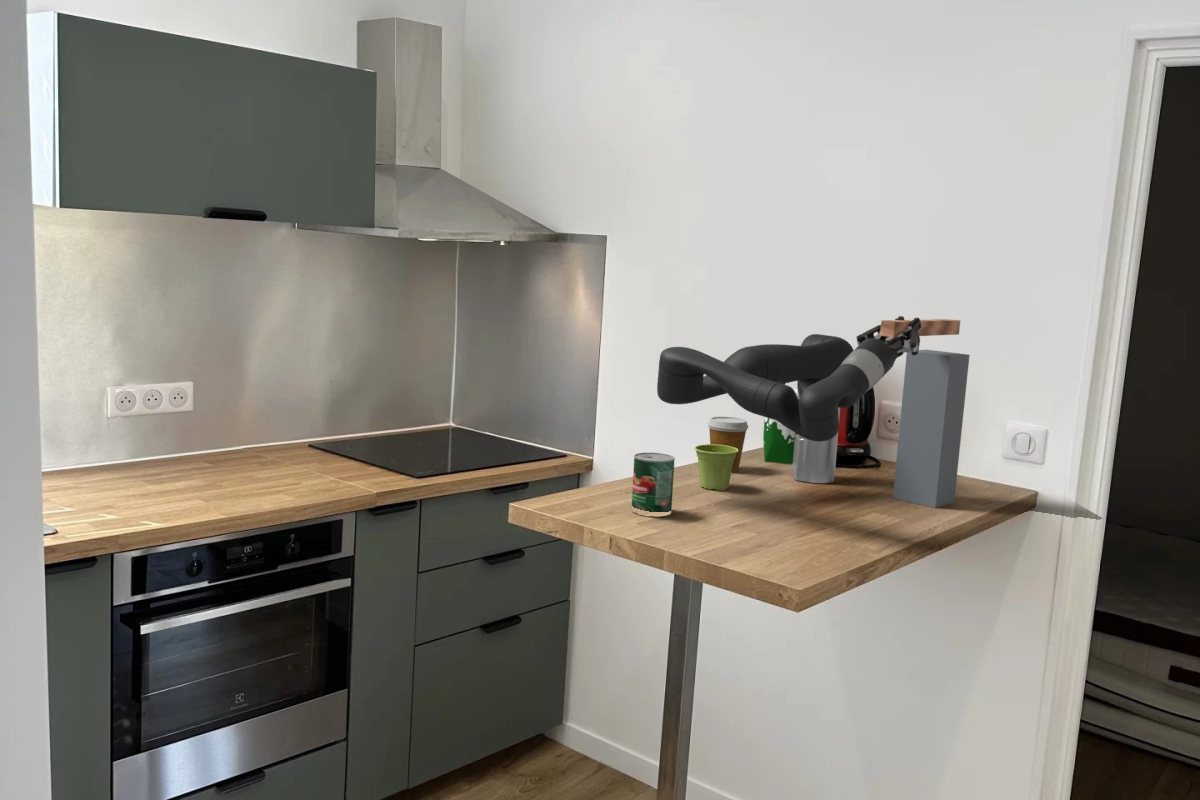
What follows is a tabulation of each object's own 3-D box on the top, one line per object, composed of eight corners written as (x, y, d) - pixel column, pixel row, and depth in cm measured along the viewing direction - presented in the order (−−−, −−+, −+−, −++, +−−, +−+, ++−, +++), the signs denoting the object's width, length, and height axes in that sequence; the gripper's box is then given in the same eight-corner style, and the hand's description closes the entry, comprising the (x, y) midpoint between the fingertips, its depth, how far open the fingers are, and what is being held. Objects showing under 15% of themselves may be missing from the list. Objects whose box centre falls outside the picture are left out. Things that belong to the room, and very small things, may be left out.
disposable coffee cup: (748, 468, 247) (752, 418, 245) (740, 476, 238) (744, 424, 236) (709, 463, 250) (713, 414, 248) (700, 471, 241) (703, 420, 239)
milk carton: (762, 455, 263) (768, 377, 260) (798, 458, 261) (804, 380, 258) (760, 462, 255) (766, 381, 252) (798, 465, 253) (804, 384, 250)
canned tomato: (678, 511, 203) (681, 456, 202) (661, 519, 196) (664, 462, 195) (641, 504, 207) (645, 450, 205) (623, 512, 200) (627, 456, 198)
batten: (893, 337, 202) (894, 321, 202) (879, 335, 204) (881, 320, 204) (958, 334, 220) (960, 320, 219) (945, 333, 222) (947, 319, 221)
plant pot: (713, 494, 218) (716, 454, 217) (683, 485, 226) (685, 446, 224) (744, 489, 224) (747, 450, 223) (713, 480, 231) (716, 442, 230)
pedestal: (935, 508, 216) (950, 356, 212) (892, 497, 224) (906, 350, 219) (954, 502, 222) (969, 354, 217) (912, 493, 229) (926, 349, 224)
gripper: (894, 353, 193) (939, 307, 202) (830, 345, 203) (876, 301, 212) (901, 387, 196) (945, 340, 205) (838, 377, 206) (883, 333, 215)
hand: (910, 321), depth 208 cm, fingers closed on batten, 3 cm apart
